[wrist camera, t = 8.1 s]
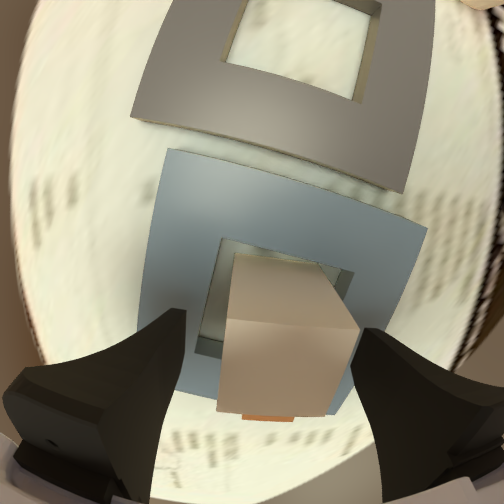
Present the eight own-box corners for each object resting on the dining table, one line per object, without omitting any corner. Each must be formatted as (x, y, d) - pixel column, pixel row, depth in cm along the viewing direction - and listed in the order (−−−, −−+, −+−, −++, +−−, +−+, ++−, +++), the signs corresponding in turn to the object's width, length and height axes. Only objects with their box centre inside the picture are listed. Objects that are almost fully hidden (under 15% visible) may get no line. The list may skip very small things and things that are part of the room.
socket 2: (412, 221, 13) (427, 228, 12) (329, 398, 17) (334, 415, 15) (176, 149, 12) (167, 147, 11) (141, 362, 16) (134, 377, 14)
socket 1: (422, 5, 9) (435, -4, 8) (387, 190, 13) (402, 194, 11) (218, -60, 8) (216, -74, 7) (142, 121, 12) (129, 116, 10)
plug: (317, 263, 14) (360, 329, 8) (297, 345, 15) (318, 429, 10) (234, 252, 14) (226, 318, 8) (224, 337, 15) (214, 424, 9)
